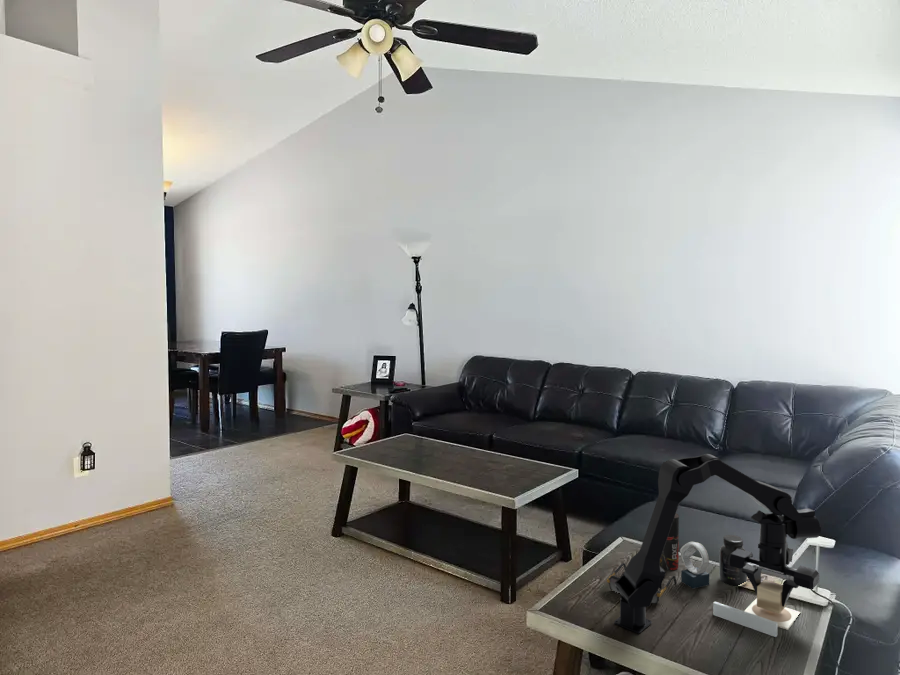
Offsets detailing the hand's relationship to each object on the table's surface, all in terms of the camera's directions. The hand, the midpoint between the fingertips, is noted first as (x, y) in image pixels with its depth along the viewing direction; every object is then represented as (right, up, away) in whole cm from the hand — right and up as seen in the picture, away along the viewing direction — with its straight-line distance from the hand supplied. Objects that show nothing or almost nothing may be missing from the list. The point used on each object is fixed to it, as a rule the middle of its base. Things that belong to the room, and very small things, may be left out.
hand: (771, 602), depth 145 cm
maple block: (0, -1, 0) cm, 1 cm away
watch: (-12, -2, +16) cm, 20 cm away
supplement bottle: (-1, -2, +17) cm, 17 cm away
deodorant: (-15, -2, +27) cm, 31 cm away
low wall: (-9, -3, -4) cm, 10 cm away
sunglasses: (-27, -3, +14) cm, 31 cm away
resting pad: (0, -3, 0) cm, 3 cm away
